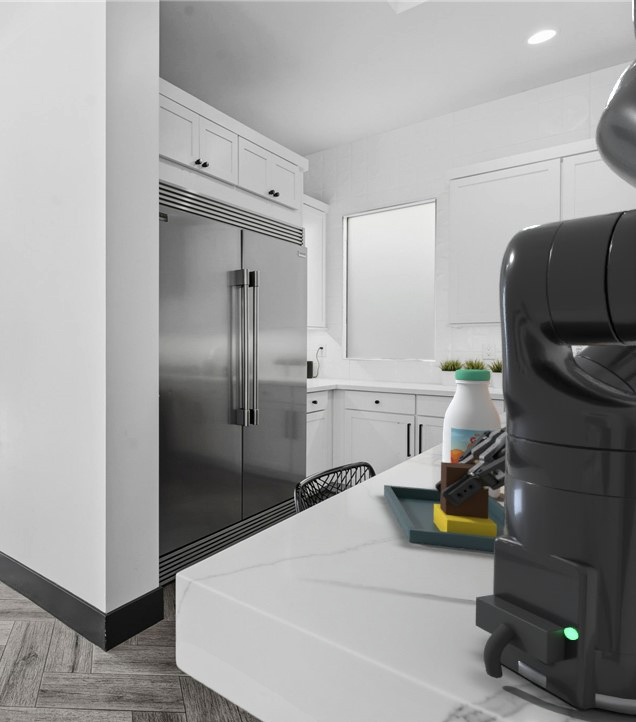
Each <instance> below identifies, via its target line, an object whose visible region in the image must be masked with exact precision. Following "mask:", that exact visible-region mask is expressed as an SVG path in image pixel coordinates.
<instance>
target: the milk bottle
mask: <svg viewBox="0 0 636 722" xmlns="http://www.w3.org/2000/svg"><path fill="white" fill-rule="evenodd" d="M491 377H492V376H491V371H490V370H487V369H456V370H455V375H454V378H455V382H454V383H455V384H456V389H455V392H454V395H453V398H452V400H451V401H450V403H449V405H448V406H447V408H446V411H445V414H444V418H443V426H442V451H441V453H442V455H441V462H446V463H459V461H458V458H459V457H460V456H461V455H462V454H463V453H464V452H465V451H466V450H467V449H468V448H469V447H470V446H471V445H472V444H473V443H474V442H475V441H476V440H477V439H478V438H479V437H480V436H481V435H482V434H483V432H485V431H487V430H490V431H491V432H493V431H495V430H496V429H498V428H502V422H501V417H500V414H499V412H498V410H497V407H496V406H495V404H494V402H493V400H492V397H491V395H490V394H491V393H490V391H489V386H490V384H491ZM478 461H479V460H475V461H474V463H477V462H478ZM490 473H491V474H493V472H490ZM489 495H490V496H491V497H492V498H493V499H497V498H499V497H500V495H501V487H500V488H499V489H496V490H492V489H491V488H489Z"/></svg>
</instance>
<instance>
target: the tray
mask: <svg viewBox="0 0 636 722" xmlns="http://www.w3.org/2000/svg"><path fill="white" fill-rule="evenodd" d="M383 495H384V498H385V499H386V501H387V504H388V505H389V507H390V509H391V511H392V513H393V515H394V516H395V518H396V521H397V522H398V524H399V526H400V528H401V530H402V531H403V533H404V535H405V537H406V539H407V541H408V543H411V544H419V545H428V546H437V547H444V548H453V549H462V550H470V551H478V552H479V551H480V552H488V553H494V541H495V538H496V537H489V536H480V535H470V534H461V533H452V532H443V531H440V530H439V529H438V527H437V526H436V524H435V523H434V504H440V497H441V493H440V492H439V491H438V490H437V489H436V488H426V487H425V488H424V487H413V486H412V487H411V486H402V485H401V486H400V485H390V484H384V485H383ZM488 517H489V518H490V519H491V520H492V521H493V522H494V523H495V524H496V525H497V537H498V536H503V526H504V505H502V504H501V503H499V501H497V500H496V498H492V497H491V496H490V495H489V498H488Z"/></svg>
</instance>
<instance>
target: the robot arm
mask: <svg viewBox="0 0 636 722" xmlns="http://www.w3.org/2000/svg"><path fill="white" fill-rule="evenodd" d="M631 12H632V25H633V34H634V40H635V42H636V0H632V11H631ZM595 145H596V149H597V152H598V154H599V156H600V158H601V161H603V163H604V164H605V165H606V166H607V167H608V168H609V169H610V170H611V172H613V173H614V174H615V175H616V176H618V177H619V178H620V179H622V180H623V181H624V182H626V183H627V184H628V185H630V186H631V187H633V188H634V189H636V58H635V59H633V61H631V62H630V64H629V65H628V66H627V67H626V68H625V69H624V71H623V72H622V74H621V75H620V76H619V78H618V79H617V81H616V82H615V85H614V86H613V87H612V91H611V93H610V95H609V98H608V100H607V101H606V104H605V106H604V109H603V111H602V112H601V115H600V117H599V120H598V123H597V125H596V130H595ZM498 303H499V322H500V341H501V345H500V346H501V389H502V390H501V391H502V398H503V405H504V410H505V426H504V427H501V428H498V429H496V430H495V431H493V432H491V431H490V430H487V431H485V432H483V434H482V435H481V436H480V437H479V438H478V439H477V440H476V441H475V442H474V443H473V444H472V445H471V446H470V447H469V448H468V449H467V450H466V451H465V452H464V453H463V454H462V455H461V456H460V457H459V458H458V461H459V463H461V464H476V465H475V466H474V467H472V468H471V469H470V470H469V471H468V472H467V475H468V476H467V475H466V474H464V475H463V476H461V477H460V478H459V479H457V480H456V481H455V482H453V483H452V484H451V485H449V486H448V487H447V488H445V489H444V490H443V491H442V496H443V497H444V498H445V499H446V500H447V501H449V502H450V503H451V504H452V505H453V506H459V505H460V504H462V503H463V502H464V501H466V500H467V499H469V498H470V497H471V496H473V495H474V494H475V493H477V492H478V491H479V490H481V488H482V489H484V490H485V489H488V488H491V489H492V490H496V489H499V488H500V489H501V488H502V487H504V489H503V490H504V492H503V495H504V496H503V507H504V526H503V536H498V537H496V538H495V541H494V552H493V581H492V583H493V584H492V585H493V586H492V587H493V588H492V594H487V595H483V596H476V597H475V626H476V627H478V628H480V629H481V630H483V631H485V632H486V633H489V634H491V635H490V636H489V638H488V639H487V641H486V643H485V645H484V649H483V662H484V667H485V672H486V674H487V675H488V676H490V677H491V678H494V679H501V678H502V677H503V667H502V665H503V666H505V667H507V668H508V669H511V670H512V671H514V672H515V673H517V674H519V675H521V676H522V677H524V678H525V679H526V678H527V679H528V680H529V681H531V682H532V683H535V684H536V685H538V686H539V687H541V688H543V689H544V690H546V691H548V692H550V693H551V694H553V695H555V696H557V697H558V698H560V699H562V700H564V701H565V702H567V703H568V704H571V705H572V706H574V707H575V708H577V709H580V710H588V709H594V708H595V709H601V710H606V711H609V712H610V711H611V712H616V713H619V714H620V713H621V714H628V715H636V208H633V209H629V210H620V211H614V212H608V213H602V214H595V215H589V216H582V217H576V218H570V219H564V220H563V219H562V220H557V221H551V222H546V223H541V224H536V225H535V224H534V225H531V226H528V227H524V228H522V229H521V230H519V231H517V233H515V234H514V235H513V236H512V237H511V239H510V240H509V241H508V244H507V245H506V248H505V250H504V252H503V255H502V260H501V264H500V269H499V282H498ZM577 346H578V347H585V348H584V349H582V350H581V351H580V352H579V353H577V354H576V355H574V352H573V347H577ZM475 460H479V461H478V462H477V463H474V461H475ZM490 472H493V474H491V473H490ZM434 487H435V489H437V490H438V491H439V492H440V493H441V479H440V480H439V481H438V482H437V483H435V485H434Z"/></svg>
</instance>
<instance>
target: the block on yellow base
mask: <svg viewBox="0 0 636 722" xmlns="http://www.w3.org/2000/svg"><path fill="white" fill-rule="evenodd" d="M475 465H476V464H461V463H446V462H442V461H441V462H440V480H441V497H440V504H434V523H435V524H436V526H437V527H438V529H439V530H440V531H443V532H452V533H461V534H470V535H480V536H489V537H497V525H496V524H495V523H494V522H493V521H492V520H491V519H490V518H489V517H488V498H489V488H488V489H485V490H484V489H482V488H481V490H479V491H478V492H477V493H475V494H474V495H473V496H471V497H470V498H469V499H467V500H466V501H464V502H463V503H462V504H460V505H459V506H453V505H452V504H451V503H450V502H449V501H447V500H446V499H445V498H444V497H443V496H442V491H443V490H444V489H445V488H447V487H448V486H449V485H451V484H452V483H453V482H455V481H456V480H457V479H459V478H460V477H461V476H463V475H464V474H466V475H467V472H468V471H469V470H470V469H471V468H472V467H474V466H475ZM467 476H468V475H467Z"/></svg>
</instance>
